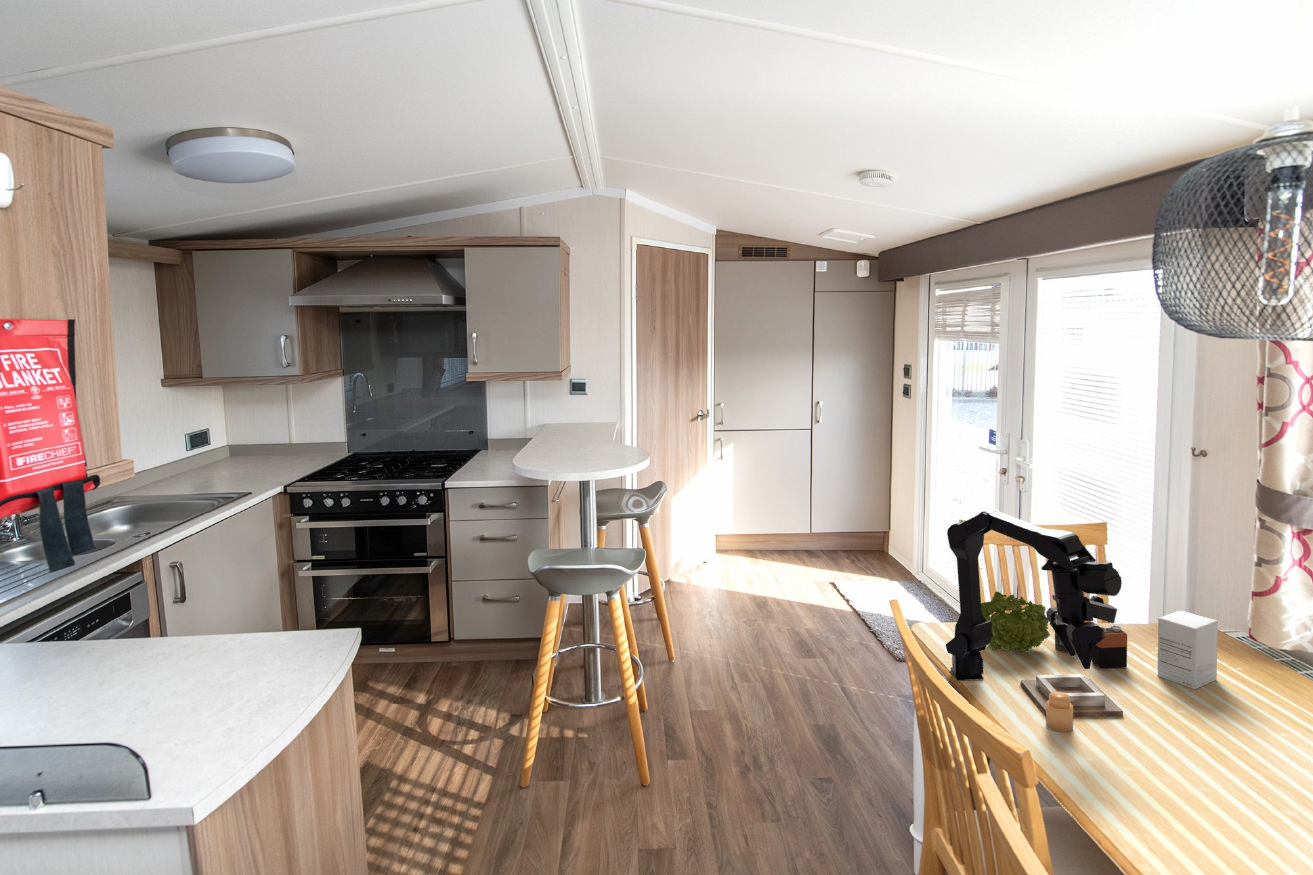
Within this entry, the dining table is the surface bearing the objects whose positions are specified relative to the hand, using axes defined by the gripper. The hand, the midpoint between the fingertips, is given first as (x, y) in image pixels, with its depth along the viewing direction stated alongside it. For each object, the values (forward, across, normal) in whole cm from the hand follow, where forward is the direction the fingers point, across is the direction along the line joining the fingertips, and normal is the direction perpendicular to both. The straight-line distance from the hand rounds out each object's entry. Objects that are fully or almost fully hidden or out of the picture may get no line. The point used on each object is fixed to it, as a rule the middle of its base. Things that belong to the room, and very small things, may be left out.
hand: (1079, 662), depth 167 cm
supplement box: (+14, +25, -30) cm, 41 cm away
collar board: (+12, +12, 0) cm, 17 cm away
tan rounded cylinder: (+13, -1, +6) cm, 15 cm away
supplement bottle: (+10, +41, -8) cm, 43 cm away
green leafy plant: (+9, +40, +5) cm, 42 cm away
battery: (+12, +31, -15) cm, 37 cm away
